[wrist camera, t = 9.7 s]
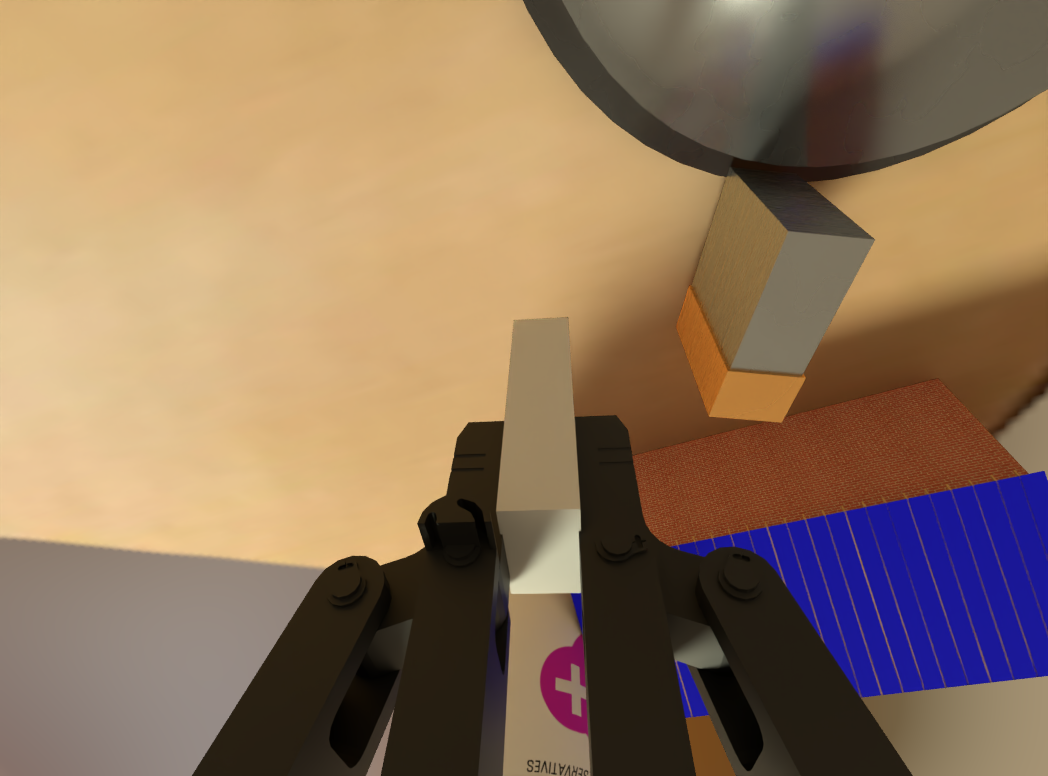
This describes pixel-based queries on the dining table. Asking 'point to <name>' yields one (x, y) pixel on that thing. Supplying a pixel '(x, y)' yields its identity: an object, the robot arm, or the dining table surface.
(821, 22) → the turntable
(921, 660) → the house
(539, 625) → the supplement can
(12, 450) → the dining table surface
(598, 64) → the turntable base
